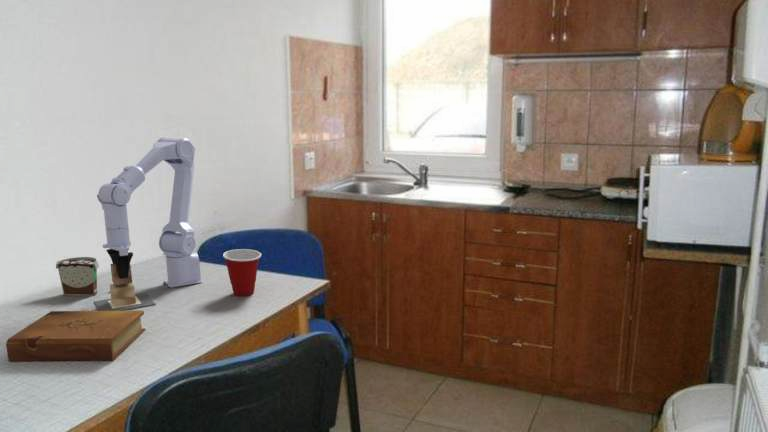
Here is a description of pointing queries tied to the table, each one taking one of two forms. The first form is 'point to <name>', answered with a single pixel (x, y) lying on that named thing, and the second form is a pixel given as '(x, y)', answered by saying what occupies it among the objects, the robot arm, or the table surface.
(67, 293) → the food container
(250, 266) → the plastic cup
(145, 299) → the gray rectangular panel
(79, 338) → the diary
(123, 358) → the table surface
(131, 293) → the oak block
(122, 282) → the walnut block
